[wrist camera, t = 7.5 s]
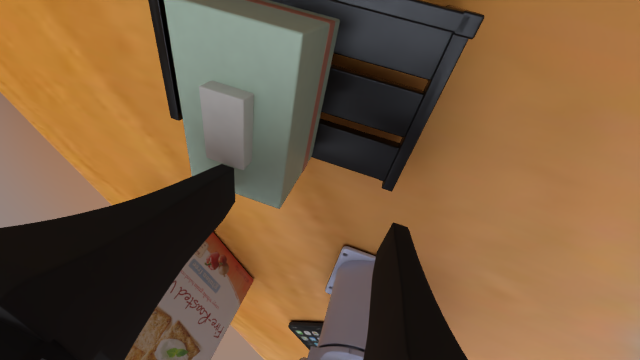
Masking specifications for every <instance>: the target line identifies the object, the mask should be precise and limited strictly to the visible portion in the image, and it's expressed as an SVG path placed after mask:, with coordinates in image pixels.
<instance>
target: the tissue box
mask: <svg viewBox="0 0 640 360" xmlns="http://www.w3.org/2000/svg"><path fill="white" fill-rule="evenodd" d="M164 4H165V11H166V17H167V23H168V29H169V36H170V42H171V48H172V54H173V60H174V67H175V73H176V79H177V85H178V92H179V98H180V104H181V110H182V117H183V123H184V129H185V135H186V142H187V148H188V154H189V160H190V167H191V173H192V176H194V175H197V174H199V173H201V172H204V171H206V170H208V169H210V168H213V167H215V166H218V165H220V164H224V165H227V166H230V167H233V168H234V177H235V193H236V194H239V195H242V196H244V197H247V198H250V199H253V200H256V201H258V202H261V203H264V204H267V205H270V206H272V207H275V208H278V209H280V208H281V206H282V204H283V203H284V201H285V199H286V198H287V196H288V194H289V193H290V191H291V189H292V188H293V186H294V184H295V183H296V181H297V179H298V178H299V176H300V175H301V173H302V172H303V171H304V169H305V167H306V166H307V163H308V161H309V160H310V158H311V156H312V153H313V148H314V143H315V139H316V134H317V129H318V124H319V119H320V115H321V110H322V105H323V100H324V95H325V91H326V86H327V81H328V76H329V72H330V67H331V62H332V57H333V52H334V48H335V43H336V38H337V33H338V28H339V24H340V20H339V19H337V18H333V17H329V16H326V15H322V14H318V13H314V12H311V11H307V10H303V9H300V8H296V7H292V6H288V5H285V4H281V3H277V2H274V1H270V0H164Z"/></svg>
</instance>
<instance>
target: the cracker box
mask: <svg viewBox="0 0 640 360" xmlns="http://www.w3.org/2000/svg"><path fill="white" fill-rule="evenodd" d="M252 282H253V279H252V277H251V276H250V275H249V274H248V273H247V272H246V270H245V269H244V268H243V267H242V266H241V265H240V263H239V262H238V261H237V260H236V259H235V258H234V256H233V255H232V254H231V253H230V252H229V250H228V249H227V248H226V247H225V246H224V245H223V243H222V242H221V241H220V240H219V239H218V237H217V236H216V235H215V234H214V233H212V234H211V235H210V236H209V237H208V238H207V240H206V241H205V242H204V243H203V244H202V245H201V247H200V248H199V249H198V250H197V251H196V252H195V254H194V255H193V256H192V257H191V258H190V260H189V261H188V262H187V263H186V265H185V266H184V267H183V269H182V270H181V271H180V273H179V274H178V276H177V277H176V279H175V280H174V282H173V283H172V284H171V286H170V287H169V289H168V290H167V292H166V293H165V295H164V296H163V298H162V299H161V301H160V302H159V304H158V305H157V307H156V308H155V310H154V312H153V313H152V315H151V316H150V318H149V320H148V321H147V323H146V325H145V326H144V328H143V329H142V331H141V333H140V334H139V336H138V338H137V339H136V341H135V343H134V345H133V346H132V348H131V350H130V351H129V353H128V355H127V357H126V358H125V360H211V358H212V356H213V354H214V352H215V350H216V349H217V347H218V345H219V343H220V341H221V339H222V338H223V336H224V334H225V332H226V330H227V328H228V327H229V325H230V323H231V321H232V319H233V318H234V316H235V314H236V312H237V310H238V308H239V306H240V304H241V303H242V301H243V299H244V297H245V295H246V294H247V292H248V290H249V288H250V286H251V284H252Z"/></svg>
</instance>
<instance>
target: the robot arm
mask: <svg viewBox="0 0 640 360" xmlns="http://www.w3.org/2000/svg"><path fill="white" fill-rule="evenodd" d="M234 202H235V177H234V168H233V167H230V166H227V165H224V164H220V165H218V166H215V167H213V168H210V169H208V170H206V171H204V172H201V173H199V174H197V175H194V176H192V177H190V178H187V179H185V180H183V181H180V182H178V183H176V184H173V185H171V186H168V187H165V188H163V189H160V190H158V191H155V192H152V193H150V194H147V195H144V196H141V197H138V198H135V199H132V200H129V201H126V202H122V203H119V204H116V205H112V206H109V207H105V208H101V209H97V210H93V211H89V212H85V213H81V214H76V215H72V216H67V217H62V218H57V219H52V220H47V221H41V222H36V223H30V224H24V225H18V226H11V227H4V228H0V360H125V358H126V357H127V355H128V353H129V351H130V350H131V348H132V346H133V345H134V343H135V341H136V339H137V338H138V336H139V334H140V333H141V331H142V329H143V328H144V326H145V325H146V323H147V321H148V320H149V318H150V316H151V315H152V313H153V312H154V310H155V308H156V307H157V305H158V304H159V302H160V301H161V299H162V298H163V296H164V295H165V293H166V292H167V290H168V289H169V287H170V286H171V284H172V283H173V282H174V280H175V279H176V277H177V276H178V274H179V273H180V271H181V270H182V269H183V267H184V266H185V265H186V263H187V262H188V261H189V260H190V258H191V257H192V256H193V255H194V254H195V252H196V251H197V250H198V249H199V248H200V247H201V245H202V244H203V243H204V242H205V241H206V240H207V238H208V237H209V236H210V235H211V234H212V233H213V231H214V230H215V229H216V228H217V227H218V225H219V224H220V223H221V222H222V221H223V219H224V218H225V216H226V215H227V213H228V212H229V210H230V209H231V207H232V206H233V204H234ZM325 291H326V292H327V293H328V294H331V297H330V301H329V304H328V308H327V312H326V316H325V320H324V323H323V327H322V331H321V335H320V339H319V342H318V346H317V347H310V351H309V355H308V358H305V357H303V358H301V359H300V360H468V359H467V357H466V356H465V354H464V353H463V351H462V349H461V348H460V346H459V344H458V342H457V341H456V339H455V337H454V335H453V333H452V332H451V330H450V328H449V326H448V324H447V322H446V320H445V318H444V316H443V314H442V312H441V310H440V308H439V306H438V304H437V302H436V300H435V298H434V295H433V293H432V291H431V289H430V286H429V284H428V282H427V279H426V277H425V274H424V271H423V269H422V266H421V264H420V261H419V258H418V256H417V253H416V250H415V247H414V244H413V241H412V238H411V235H410V231H409V229H408V227H405V226H402V225H399V224H396V223H393V224H392V225H391V227H390V229H389V231H388V233H387V234H386V236H385V238H384V240H383V242H382V243H381V245H380V247H379V249H378V251H377V254H376V256H373V255H371V254H368V253H365V252H362V251H360V250H357V249H354V248H351V247H348V246H344V247H343V248H342V250H341V253H340V255H339V257H338V260H337V262H336V265H335V267H334V269H333V272H332V274H331V277H330V279H329V281H328V284H327V286H326V289H325Z"/></svg>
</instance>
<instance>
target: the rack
mask: <svg viewBox="0 0 640 360" xmlns="http://www.w3.org/2000/svg"><path fill="white" fill-rule="evenodd" d="M148 1H149V6H150V11H151V17H152V22H153V27H154V32H155V37H156V43H157V48H158V53H159V58H160V64H161V69H162V74H163V79H164V84H165V90H166V95H167V100H168V105H169V110H170V116H171V118H173V119H176V120H181V119H183V117H182V110H181V104H180V98H179V92H178V85H177V79H176V73H175V67H174V60H173V54H172V48H171V42H170V36H169V29H168V23H167V17H166V11H165V4H164V0H148ZM270 1H274V2H277V3H281V4H285V5H288V6H292V7H296V8H300V9H303V10H307V11H311V12H314V13H318V14H322V15H326V16H329V17H333V18H337V19H339V20H340V24H339V28H338V33H337V38H336V43H335V48H334V52H333V53H336V54H339V55H343V56H346V57H350V58H353V59H357V60H360V61H364V62H367V63H371V64H374V65H378V66H382V67H385V68H389V69H392V70H396V71H399V72H403V73H406V74H410V75H413V76H417V77H420V78H424V79H427V80H428V82H427V84H426V86H425V88H424V91H423V90H419V89H416V88H412V87H409V86H405V85H402V84H398V83H395V82H391V81H388V80H384V79H381V78H377V77H374V76H371V75H367V74H364V73H360V72H357V71H353V70H350V69H346V68H343V67H339V66H336V65H332V64H331V67H330V72H329V76H328V81H327V86H326V91H325V95H324V100H323V105H322V110H321V112H324V113H327V114H330V115H333V116H336V117H340V118H343V119H346V120H349V121H353V122H356V123H359V124H362V125H365V126H369V127H372V128H375V129H378V130H382V131H385V132H388V133H391V134H395V135H398V136H401V137H402V139H401V141H400V143H397V142H394V141H391V140H388V139H385V138H381V137H378V136H375V135H372V134H369V133H365V132H362V131H359V130H356V129H353V128H349V127H346V126H343V125H340V124H337V123H333V122H330V121H327V120H324V119H321V118H320V119H319V124H318V129H317V134H316V139H315V143H314V148H313V153H312V156H311V157H313V158H316V159H319V160H322V161H325V162H328V163H331V164H334V165H337V166H340V167H343V168H346V169H349V170H352V171H355V172H358V173H361V174H364V175H367V176H370V177H374V178H377V179H379V180H381V181H383V183H382V188H383V189H386V190H389V191H392V190H393V188H394V186H395V184H396V182H397V180H398V178H399V176H400V174H401V172H402V170H403V168H404V166H405V164H406V162H407V160H408V158H409V156H410V154H411V152H412V150H413V149H414V147H415V145H416V143H417V141H418V139H419V137H420V135H421V133H422V131H423V129H424V127H425V125H426V123H427V121H428V119H429V117H430V115H431V113H432V111H433V109H434V107H435V105H436V103H437V101H438V99H439V97H440V95H441V93H442V91H443V89H444V87H445V85H446V83H447V81H448V79H449V77H450V75H451V73H452V71H453V69H454V67H455V65H456V63H457V61H458V59H459V57H460V55H461V53H462V51H463V49H464V47H465V45H466V43H467V41H468V39H473V38H474V37H475V35H476V33H477V31H478V29H479V27H480V25H481V23H482V21H483V19H484V15H482V14H479V13H476V12H472V11H468V10H465V9H461V8H458V7H454V6H450V5H447V6H446V7H444V6H440V5H436V4H432V3H428V2H424V1H420V0H270Z"/></svg>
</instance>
